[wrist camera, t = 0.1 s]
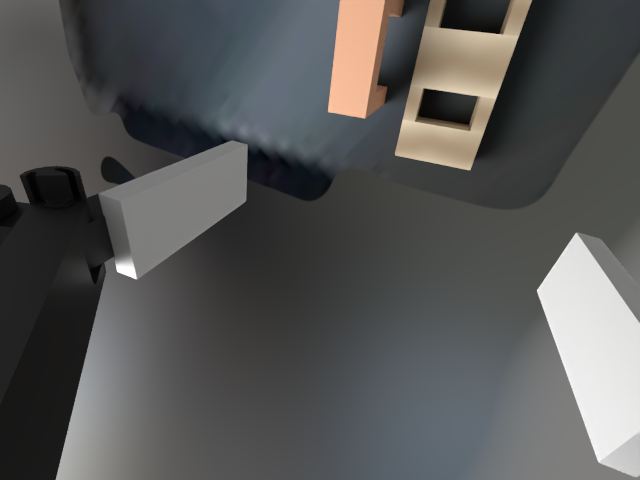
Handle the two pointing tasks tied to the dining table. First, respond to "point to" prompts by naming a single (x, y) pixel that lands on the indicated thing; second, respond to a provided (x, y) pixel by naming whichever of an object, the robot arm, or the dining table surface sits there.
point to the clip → (360, 56)
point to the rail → (457, 85)
